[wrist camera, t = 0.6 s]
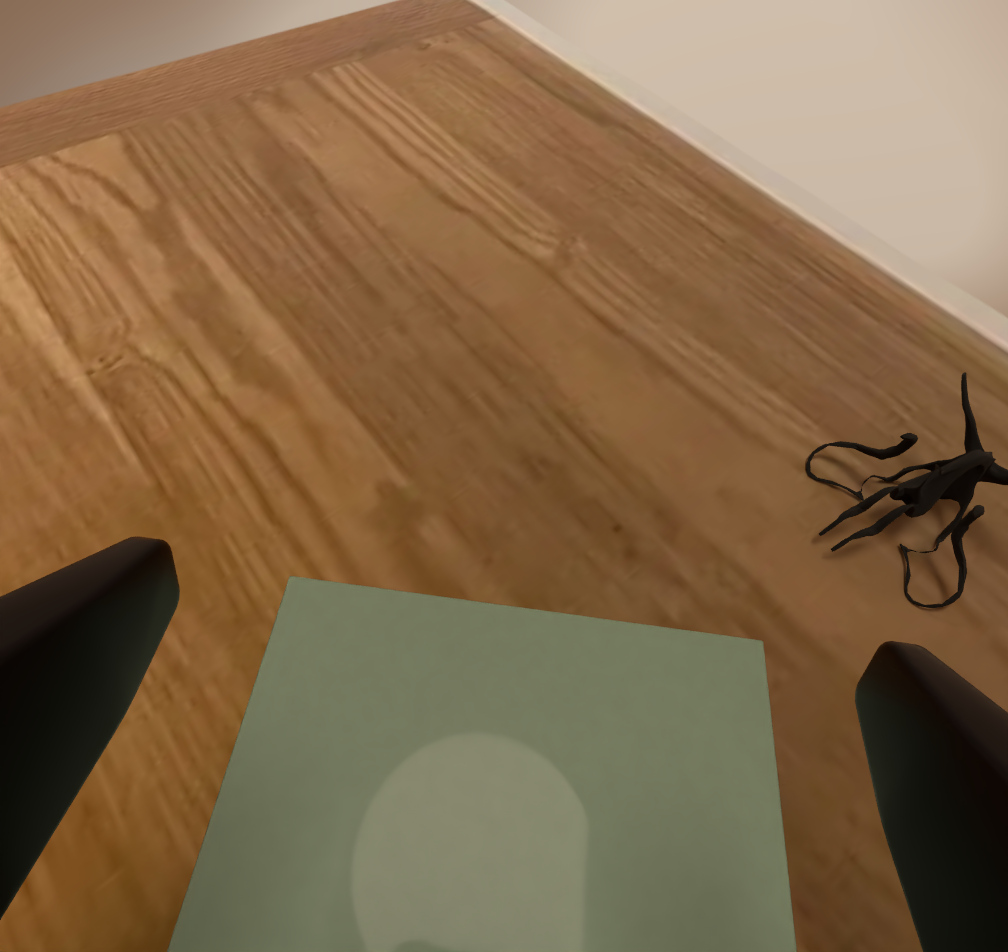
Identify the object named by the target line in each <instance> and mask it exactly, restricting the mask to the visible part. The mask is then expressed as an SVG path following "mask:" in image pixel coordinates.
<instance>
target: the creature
mask: <svg viewBox="0 0 1008 952" xmlns="http://www.w3.org/2000/svg"><path fill="white" fill-rule="evenodd" d="M961 391H962V406H963V410H964V413H965V422H966V430H965V442H964V445H965V450H966V453H965V454H963V455H960V456H958V457H955V458H953V459H949V460H942V461H936V462H932V463H928V464H924V465H918V466H911V467H907V468H904V469H903V470H901V471H900V472H899V473H897V474H896V475H894V476H891V477H888V478H885V477H880V476H875V475H873V476H870V477H869V478H871V477H877V478H880V479H882V480H884V481H890V482H893V481H895V480H897V479H898V478H900V477H901V476H903V475H905V474H906V473H908V472H911V471H914V470H918V469H927V470H931V472H929V473H926V474H924V475H922V476H919V477H916V478H914V479H911V480H908V481H906V482H903V483H901V484H899V485H898V486H894V487H887V488H883V489H882V490H880V491H878V492H877V493H875V494H873V495H871V496H870V497H868V498H866V499H865V500H864V499H863V495H862V493H861V492H862V488H861V491H859V492H855V491H853V490H851V489H849V488H847V487H845V486H842V485H840V484H838V483H835V482H833V481H829V480H825V479H821V478H817V477H816V476H815V475H814V474H812V473H811V471H810V461H811V460H812V458H813V456H814V454H815V453H817V452H819V451H820V450H822V449H824V448H825V447H827V446H837V447H846V448H854V449H856V450H858V451H860V452H863V453H865V454H867V455H870V456H873V457H876V458H878V459H881V460H884V459H886V458H891V457H895V456H898V455H900V454H902V453H904V452H905V451H906V450H908V449H909V448H910V447H912V446H913V445H914V444H915V443H916V442H917V439H918V438H917V436H916V435H914V434H912V433H906V434H903V435H901V436H900V437H901V438H902V439H904V440H903V441H902V442H901V443H900V444H898V445H897V446H892V447H889V448H887V449H880V450H879V449H874V448H870V447H867V446H864V445H861V444H857V443H850V442H841V441H840V442H835V443H829V444H824V445H822V446H820V447H818V448H817V449H816V450H814V451H813V452H812V453H811V455H810V456H809V458H808V461H807V464H806V471H807V473H808V475H809V476H810V477H812V478H813V479H815V480H818V481H822V482H825V483H829V484H833V485H836V486H840V487H842V488H844V489H847V490H848V491H850V492H851V493H853V494H854V495H856V496H858V497H859V498H860V499H861V500H862V502H860V503H859V504H858V505H856V506H854V507H851V508H850V509H848V510H846V511H845V512H843V513H842V514H841V515H840V516H839V517H838V519H837V520H835V521H834V522H833V523H832V524H830V525H829V526H828V527H826V528H825V529H824V530H823V531H821V532H820V533H819V535H820V536H821V535H823V534H825V533H826V532H828V531H829V530H831V529H832V528H834V527H835V526H836V525H838V524H839V523H840V522H842V521H843V520H845V519H846V518H849V517H853V516H856V515H858V514H860V513H862V512H864V511H866V510H867V509H869V508H870V507H871V506H872V505H873V504H875V503H876V502H877V501H879V500H880V499H882V498H883V497H884V496H886V495H887V494H889V493H890V497H891V498H892V499H893V500H902V501H903V502H904V503H905V504H906V505H903V506H901V507H899V508H897V509H895V510H893V511H891V512H890V513H888V514H887V515H885V516H884V517H882V518H881V519H879V520H878V521H877V522H876V523H875V524H874V525H872V526H871V527H868V528H865V529H862V530H860V531H858V532H856V533H854V534H853V535H851V536H850V537H848V538H846V539H844V540H843V541H841V542H840V543H838V544H837V545H836V546H834V547H833V548H832V549H831V550H832V552H833V551H835V550H837V549H839V548H840V547H842V546H843V545H845V544H846V543H848V542H849V541H851V540H853V539H857V538H861V537H865V536H873V535H876V534H878V533H879V532H881V531H882V530H883V529H884V528H885V527H887V526H888V525H889V524H890V523H891V522H893V521H894V520H895V519H896V518H898V517H899V516H900V515H902V514H903V513H905V514H906V515H907V516H909V517H911V518H912V517H918V516H921V515H923V514H925V513H926V512H927V511H929V510H930V509H931V508H932V507H933V505H934V504H935V503H936V502H937V501H938V500H939V499H952V500H955V501H957V502H959V505H960V511H959V512H958V514H957V516H956V517H955V519H954V520H953V521H952V522H951V523H950V524H949V525H948V526H947V527H946V528H945V529H944V530H943V531H942V533H941V534H940V535H939V537H938V538H937V544H936V548H935V549H934V550H933V551H936V550H937V549H938V546H939V543H940V542H942V541H944V539H945V538H946V537H947V536H948V535H949V534H950V533H951V532H952V534H951V540H952V544H953V549H954V554H955V557H956V560H957V562H958V565H959V581H958V592H957V593H955V594H954V595H953V596H952V597H950V598H949V599H948V600H946V601H945V602H944V603H943V604H933V605H923V604H921V603H918V602H916V601H914V600H912V598H911V597H910V595H909V594H908V593H907V586H908V583H909V579H910V576H911V575H910V568H909V561H908V556H907V552H909V551H914V550H910V549H908V548H907V547H905V546H903V545H902V544H900V546H901V548H902V550H903V553H904V556H905V559H906V562H907V571H906V581H905V593H906V596H907V598H908V599H909V601H911V602H912V603H914V604H916V605H918V606H922V607H927V608H938V607H943V606H946V605H949V604H952V603H953V602H954V601H956V600H957V599H958V598H959V597H960V596H961V594H962V592H963V588H964V583H965V579H966V574H967V568H966V559H965V555H964V551H963V546H962V537H963V535H964V533H965V532H966V531H967V530H968V528H969V525H970V524H971V523H972V522H973V521H975V520H976V519H977V518H978V517H980V516H981V515H983V514H984V507H983V506H981V505H976V506H975V507H974V508H973V510H971V511H970V512H969V513H968V514H967V515H966V516H965V517H964V518H963V519H962V516H963V514H964V512H965V511H966V509H967V506H968V505H969V503H970V501H971V499H972V497H973V494H974V488H975V486H976V483H977V482H980V481H982V482H991V483H996V484H1001V485H1008V470H1007V469H1005V468H1003V467H1001V466H999V465H997V464H996V463H995V462H994V461H995V460H996V459H994V458H993V456H992V452H985V451H984V450H983V448H982V446H981V443H980V440H979V437H978V433H977V428H976V423H975V419H974V416H973V413H972V410H971V407H970V404H969V400H968V392H967V380H966V373H963V374H962V380H961ZM869 478H868V479H869ZM868 479H866V480H865V481H864V483H865V482H866V481H867V480H868ZM864 483H863V484H864ZM862 486H863V485H862ZM961 519H962V520H961ZM933 551H926V552H919V553H929V552H933ZM914 552H916V551H914Z"/></svg>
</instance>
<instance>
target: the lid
mask: <svg viewBox="0 0 1008 952" xmlns="http://www.w3.org/2000/svg"><path fill="white" fill-rule="evenodd" d="M167 952H797V949H796V940H795V931H794V921H793V912H792V903H791V894H790V885H789V875H788V866H787V857H786V848H785V839H784V829H783V820H782V811H781V802H780V793H779V784H778V774H777V765H776V756H775V747H774V738H773V728H772V719H771V710H770V701H769V692H768V682H767V673H766V664H765V655H764V646H763V641H760V640H753V639H746V638H738V637H731V636H724V635H717V634H709V633H702V632H695V631H687V630H680V629H673V628H666V627H658V626H651V625H644V624H636V623H629V622H622V621H615V620H607V619H600V618H593V617H586V616H578V615H571V614H564V613H556V612H549V611H542V610H535V609H527V608H520V607H513V606H505V605H498V604H491V603H484V602H476V601H469V600H462V599H454V598H447V597H440V596H433V595H425V594H418V593H411V592H403V591H396V590H389V589H382V588H374V587H367V586H360V585H353V584H345V583H338V582H331V581H323V580H316V579H309V578H302V577H294V576H290V577H289V580H288V583H287V586H286V589H285V592H284V595H283V598H282V601H281V604H280V607H279V610H278V613H277V617H276V620H275V623H274V626H273V629H272V632H271V635H270V638H269V641H268V644H267V647H266V650H265V653H264V656H263V659H262V662H261V665H260V669H259V672H258V675H257V678H256V681H255V684H254V687H253V690H252V693H251V696H250V699H249V702H248V705H247V708H246V711H245V714H244V717H243V721H242V724H241V727H240V730H239V733H238V736H237V739H236V742H235V745H234V748H233V751H232V754H231V757H230V760H229V763H228V766H227V769H226V773H225V776H224V779H223V782H222V785H221V788H220V791H219V794H218V797H217V800H216V803H215V806H214V809H213V812H212V815H211V818H210V821H209V825H208V828H207V831H206V834H205V837H204V840H203V843H202V846H201V849H200V852H199V855H198V858H197V861H196V864H195V867H194V870H193V873H192V877H191V880H190V883H189V886H188V889H187V892H186V895H185V898H184V901H183V904H182V907H181V910H180V913H179V916H178V919H177V922H176V926H175V929H174V932H173V935H172V938H171V941H170V944H169V947H168V950H167Z"/></svg>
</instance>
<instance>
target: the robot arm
mask: <svg viewBox="0 0 1008 952" xmlns="http://www.w3.org/2000/svg"><path fill="white" fill-rule="evenodd" d="M179 594H180V590H179V584H178V579H177V574H176V569H175V565H174V560H173V555H172V551H171V548H170V546H169V544H168V543H167V542H166V541H163V540H160V539H153V538H146V537H130V538H128V539H125V540H123V541H121V542H119V543H117V544H114V545H112V546H110V547H108V548H106V549H104V550H101V551H99V552H97V553H95V554H93V555H91V556H88V557H86V558H84V559H82V560H80V561H77V562H75V563H73V564H71V565H69V566H67V567H64V568H62V569H60V570H58V571H56V572H53V573H51V574H49V575H47V576H45V577H43V578H40V579H38V580H36V581H34V582H32V583H30V584H27V585H25V586H23V587H21V588H19V589H16V590H14V591H12V592H10V593H8V594H6V595H3V596H1V597H0V920H1V918H2V916H3V915H4V913H5V911H6V910H7V908H8V906H9V905H10V903H11V902H12V900H13V898H14V897H15V895H16V893H17V892H18V890H19V888H20V887H21V885H22V884H23V882H24V880H25V879H26V877H27V875H28V874H29V872H30V870H31V869H32V867H33V866H34V864H35V862H36V861H37V859H38V857H39V856H40V854H41V852H42V851H43V849H44V848H45V846H46V844H47V843H48V841H49V839H50V838H51V836H52V834H53V833H54V831H55V830H56V828H57V826H58V825H59V823H60V821H61V820H62V818H63V816H64V815H65V813H66V812H67V810H68V808H69V807H70V805H71V803H72V802H73V800H74V798H75V797H76V795H77V794H78V792H79V790H80V789H81V787H82V785H83V784H84V782H85V780H86V779H87V777H88V776H89V774H90V772H91V771H92V769H93V767H94V766H95V764H96V762H97V761H98V759H99V758H100V756H101V754H102V753H103V751H104V749H105V748H106V746H107V744H108V743H109V741H110V740H111V738H112V736H113V735H114V733H115V731H116V730H117V728H118V726H119V724H120V723H121V721H122V719H123V717H124V716H125V714H126V712H127V710H128V708H129V706H130V704H131V702H132V700H133V698H134V696H135V694H136V692H137V690H138V688H139V686H140V684H141V682H142V679H143V677H144V675H145V673H146V671H147V669H148V667H149V665H150V663H151V660H152V658H153V656H154V654H155V652H156V650H157V648H158V646H159V644H160V641H161V639H162V637H163V635H164V633H165V631H166V629H167V627H168V625H169V623H170V620H171V618H172V616H173V614H174V612H175V610H176V607H177V605H178V601H179ZM855 702H856V708H857V713H858V718H859V722H860V727H861V732H862V736H863V741H864V745H865V750H866V755H867V759H868V764H869V769H870V773H871V778H872V783H873V787H874V792H875V797H876V801H877V806H878V810H879V814H880V818H881V822H882V825H883V829H884V832H885V835H886V839H887V842H888V845H889V848H890V851H891V854H892V857H893V861H894V864H895V867H896V870H897V873H898V876H899V879H900V882H901V885H902V888H903V891H904V894H905V897H906V900H907V903H908V906H909V910H910V913H911V916H912V919H913V922H914V925H915V928H916V931H917V934H918V937H919V940H920V943H921V946H922V949H923V952H1008V713H1007V712H1006V711H1005V710H1003V709H1002V708H1001V707H1000V706H998V705H997V704H996V703H994V702H993V701H992V700H991V699H989V698H988V697H987V696H986V695H984V694H983V693H982V692H980V691H979V690H978V689H977V688H975V687H974V686H973V685H971V684H970V683H969V682H968V681H966V680H965V679H964V678H962V677H961V676H960V675H959V674H957V673H956V672H955V671H954V670H952V669H951V668H950V667H948V666H947V665H946V664H945V663H943V662H942V661H941V660H939V659H938V658H937V657H936V656H934V655H933V654H932V653H931V652H929V651H928V650H927V649H925V648H924V647H922V646H919V645H915V644H909V643H902V642H894V641H888V642H885V643H883V644H882V645H880V646H879V648H878V649H877V651H876V653H875V654H874V656H873V658H872V660H871V661H870V663H869V665H868V667H867V668H866V670H865V672H864V674H863V675H862V677H861V679H860V681H859V682H858V685H857V688H856V693H855Z"/></svg>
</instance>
